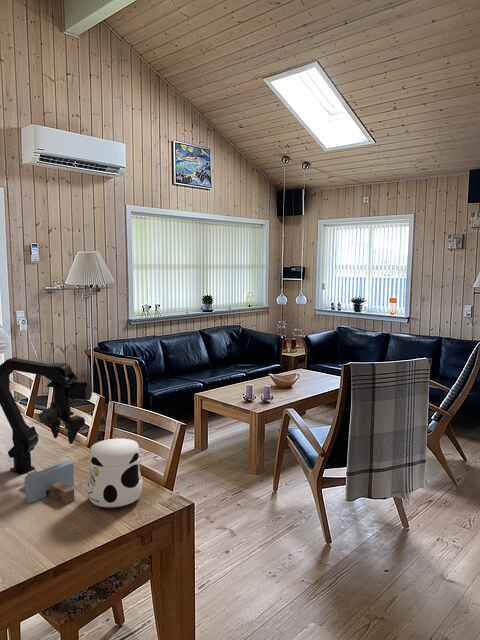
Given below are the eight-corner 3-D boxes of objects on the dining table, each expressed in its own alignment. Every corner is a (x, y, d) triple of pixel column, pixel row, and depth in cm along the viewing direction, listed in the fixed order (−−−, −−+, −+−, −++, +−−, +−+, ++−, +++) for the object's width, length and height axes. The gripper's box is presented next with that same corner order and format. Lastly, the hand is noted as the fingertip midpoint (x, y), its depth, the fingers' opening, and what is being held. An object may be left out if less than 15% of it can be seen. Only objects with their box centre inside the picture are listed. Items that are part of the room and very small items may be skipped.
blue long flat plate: (25, 500, 160) (24, 476, 159) (68, 482, 173) (68, 460, 172) (30, 503, 158) (29, 479, 157) (73, 485, 171) (73, 462, 170)
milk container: (77, 500, 160) (75, 447, 158) (121, 483, 173) (121, 433, 171) (108, 519, 149) (107, 462, 147) (153, 499, 162) (153, 446, 160)
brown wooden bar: (28, 484, 171) (27, 473, 170) (36, 481, 173) (35, 470, 173) (66, 504, 158) (65, 492, 157) (74, 500, 160) (74, 488, 160)
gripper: (26, 399, 177) (28, 441, 178) (57, 409, 166) (58, 454, 167) (54, 392, 185) (55, 432, 187) (85, 401, 174) (86, 444, 176)
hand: (63, 440), depth 179 cm, fingers open, 9 cm apart
